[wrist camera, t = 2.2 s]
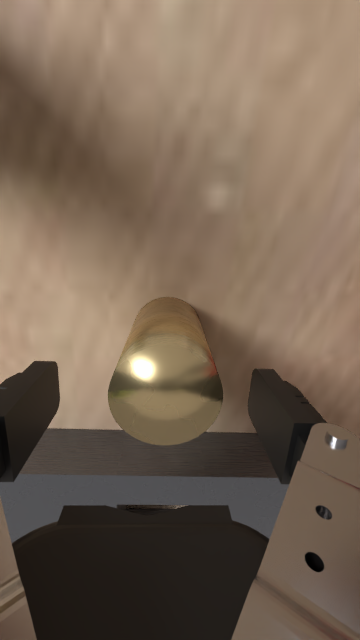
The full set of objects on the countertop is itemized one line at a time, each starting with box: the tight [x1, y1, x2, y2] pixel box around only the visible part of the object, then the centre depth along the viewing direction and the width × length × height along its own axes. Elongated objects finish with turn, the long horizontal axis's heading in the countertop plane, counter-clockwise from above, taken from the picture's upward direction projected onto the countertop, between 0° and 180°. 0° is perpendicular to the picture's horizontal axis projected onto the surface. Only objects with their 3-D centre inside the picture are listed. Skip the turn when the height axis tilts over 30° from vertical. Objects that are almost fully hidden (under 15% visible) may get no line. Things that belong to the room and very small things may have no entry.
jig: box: [0, 429, 289, 543], centre depth 20 cm, size 20×10×4 cm, turn 87°
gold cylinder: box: [108, 297, 223, 445], centre depth 14 cm, size 4×4×8 cm
